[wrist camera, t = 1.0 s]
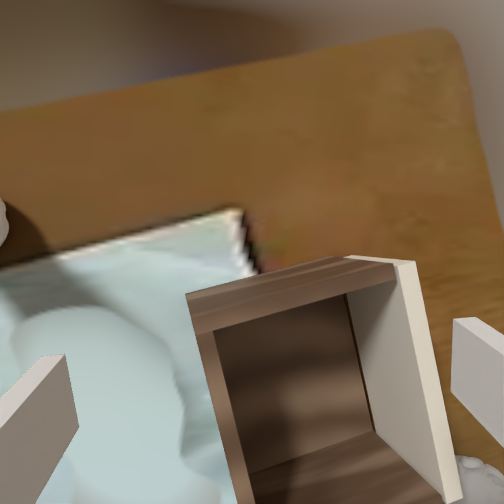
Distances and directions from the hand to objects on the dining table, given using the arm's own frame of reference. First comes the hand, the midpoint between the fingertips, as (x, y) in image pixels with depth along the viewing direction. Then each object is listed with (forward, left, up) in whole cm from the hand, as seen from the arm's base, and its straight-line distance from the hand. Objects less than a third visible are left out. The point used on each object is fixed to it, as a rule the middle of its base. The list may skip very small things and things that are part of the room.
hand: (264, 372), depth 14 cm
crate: (-10, -6, -27) cm, 29 cm away
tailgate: (-10, -14, -25) cm, 31 cm away
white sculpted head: (-27, -22, -27) cm, 44 cm away
